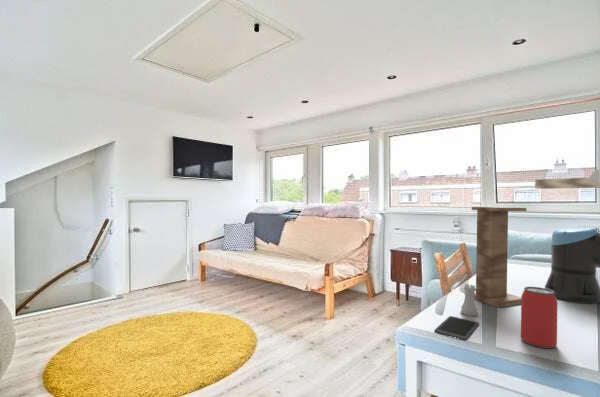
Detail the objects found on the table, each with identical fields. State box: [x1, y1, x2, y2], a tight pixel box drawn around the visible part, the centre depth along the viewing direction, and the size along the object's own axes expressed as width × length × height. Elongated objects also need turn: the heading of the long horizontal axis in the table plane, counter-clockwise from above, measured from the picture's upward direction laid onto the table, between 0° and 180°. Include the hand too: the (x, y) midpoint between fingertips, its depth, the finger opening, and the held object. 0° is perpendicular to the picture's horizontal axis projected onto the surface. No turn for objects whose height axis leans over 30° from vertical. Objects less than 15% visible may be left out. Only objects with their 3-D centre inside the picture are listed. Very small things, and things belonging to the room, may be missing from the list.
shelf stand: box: [471, 206, 527, 309], centre depth 104 cm, size 10×12×30 cm
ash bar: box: [534, 177, 600, 190], centre depth 84 cm, size 20×4×2 cm, turn 24°
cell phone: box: [434, 315, 480, 341], centre depth 81 cm, size 7×14×1 cm, turn 140°
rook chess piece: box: [460, 283, 479, 317], centre depth 92 cm, size 4×4×8 cm
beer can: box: [520, 286, 559, 349], centre depth 73 cm, size 7×7×12 cm
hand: (598, 174), depth 81 cm, fingers closed on ash bar, 4 cm apart
